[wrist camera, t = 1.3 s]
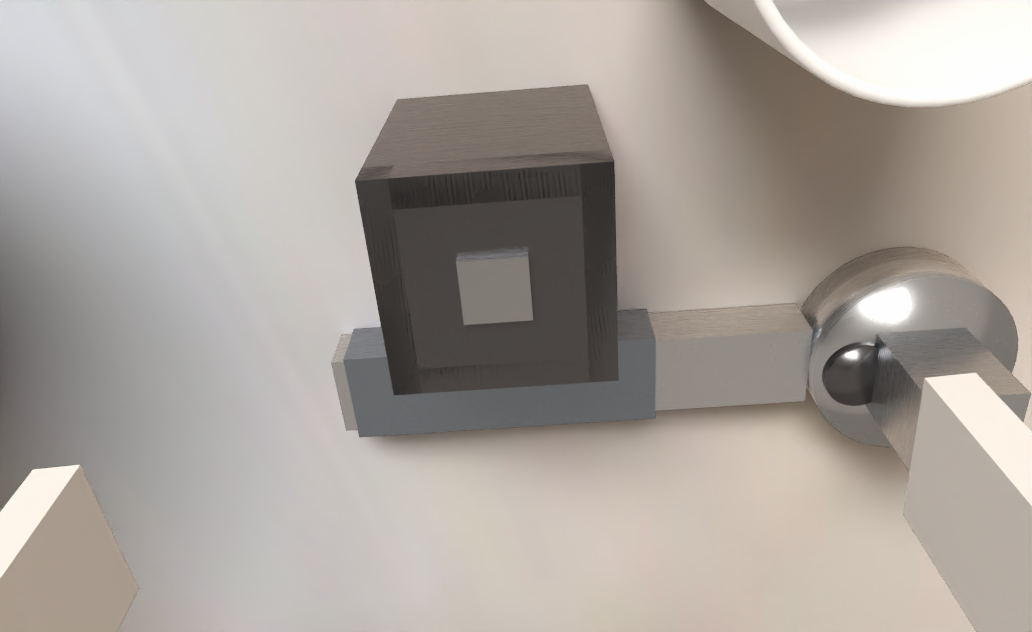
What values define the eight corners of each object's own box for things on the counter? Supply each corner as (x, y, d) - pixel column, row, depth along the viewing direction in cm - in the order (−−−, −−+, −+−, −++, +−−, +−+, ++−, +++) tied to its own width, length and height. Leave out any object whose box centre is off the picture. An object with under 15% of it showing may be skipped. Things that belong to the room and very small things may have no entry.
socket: (422, 271, 29) (392, 400, 22) (397, 99, 26) (353, 184, 19) (593, 258, 29) (619, 385, 22) (587, 84, 26) (615, 164, 19)
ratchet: (363, 440, 33) (332, 559, 27) (332, 287, 30) (288, 385, 24) (962, 402, 32) (1058, 516, 26) (998, 240, 29) (1118, 330, 23)
